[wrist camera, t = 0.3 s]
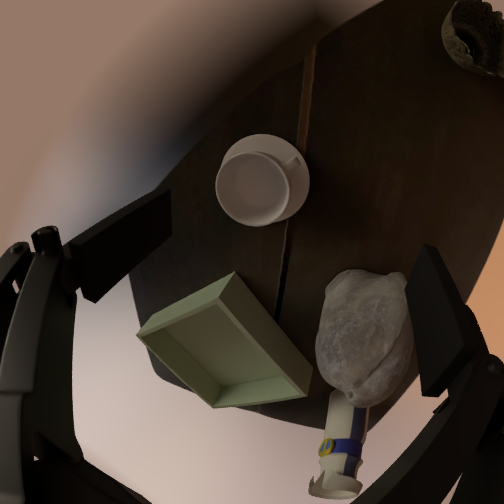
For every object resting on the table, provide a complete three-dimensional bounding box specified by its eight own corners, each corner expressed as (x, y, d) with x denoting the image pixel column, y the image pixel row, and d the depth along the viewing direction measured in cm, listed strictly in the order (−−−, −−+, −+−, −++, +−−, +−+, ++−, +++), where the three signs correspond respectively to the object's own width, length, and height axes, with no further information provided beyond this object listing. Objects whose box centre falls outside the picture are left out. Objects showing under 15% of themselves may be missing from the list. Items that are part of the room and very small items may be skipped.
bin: (235, 271, 37) (218, 297, 32) (313, 367, 42) (307, 396, 37) (153, 314, 48) (135, 335, 43) (223, 386, 52) (213, 408, 47)
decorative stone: (359, 233, 30) (365, 326, 17) (428, 272, 29) (459, 369, 16) (301, 320, 38) (275, 412, 25) (362, 348, 37) (355, 439, 25)
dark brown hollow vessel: (426, 9, 15) (449, -18, 8) (485, 35, 13) (520, 21, 7) (425, 67, 19) (452, 54, 12) (484, 92, 17) (522, 92, 11)
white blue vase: (317, 399, 46) (284, 522, 25) (345, 379, 41) (317, 522, 20) (351, 413, 46) (329, 529, 25) (380, 394, 41) (365, 526, 20)
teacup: (254, 234, 34) (241, 253, 30) (206, 165, 31) (186, 175, 27) (327, 195, 29) (325, 210, 25) (276, 116, 26) (264, 116, 22)
